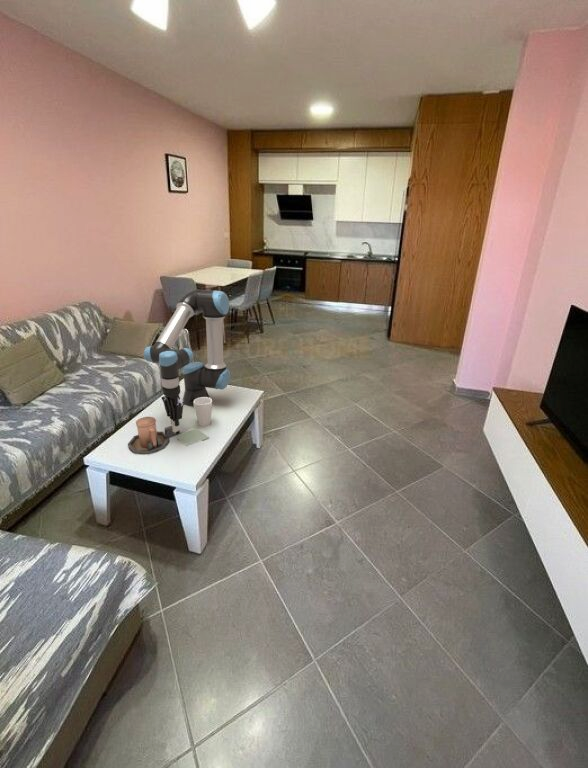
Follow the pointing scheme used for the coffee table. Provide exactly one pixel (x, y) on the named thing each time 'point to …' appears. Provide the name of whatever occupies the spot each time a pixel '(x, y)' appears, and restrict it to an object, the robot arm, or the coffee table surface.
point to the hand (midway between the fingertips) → (176, 431)
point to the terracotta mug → (147, 431)
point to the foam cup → (203, 410)
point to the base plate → (137, 446)
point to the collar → (167, 434)
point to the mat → (192, 436)
